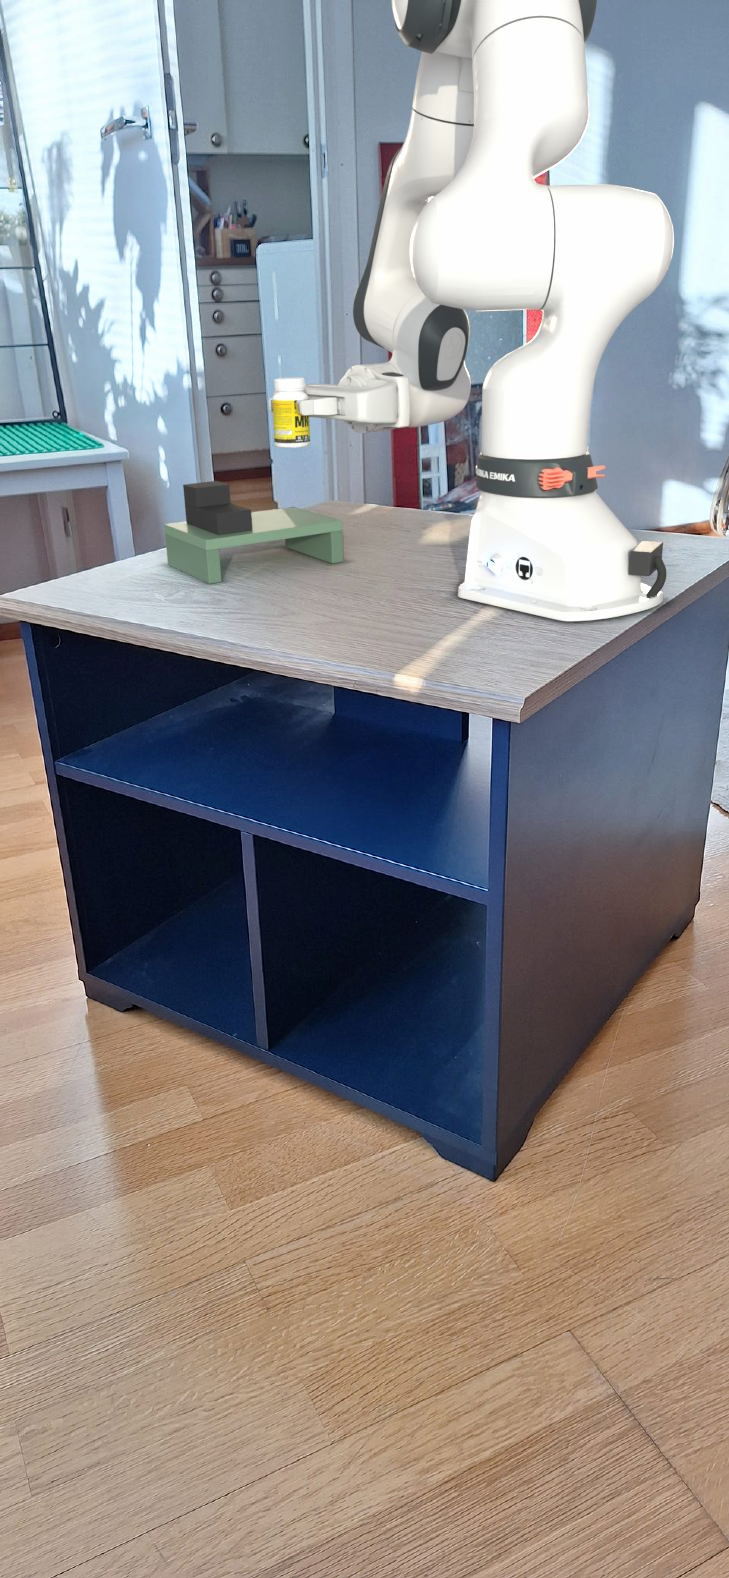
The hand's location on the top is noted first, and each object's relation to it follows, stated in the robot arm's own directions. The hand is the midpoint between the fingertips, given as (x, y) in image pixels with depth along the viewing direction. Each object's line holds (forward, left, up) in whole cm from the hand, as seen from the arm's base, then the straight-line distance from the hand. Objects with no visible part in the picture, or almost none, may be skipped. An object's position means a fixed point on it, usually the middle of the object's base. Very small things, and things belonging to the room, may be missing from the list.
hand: (285, 406), depth 144 cm
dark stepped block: (-12, +16, -12) cm, 23 cm away
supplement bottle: (0, -1, -5) cm, 5 cm away
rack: (-12, +12, -17) cm, 23 cm away
